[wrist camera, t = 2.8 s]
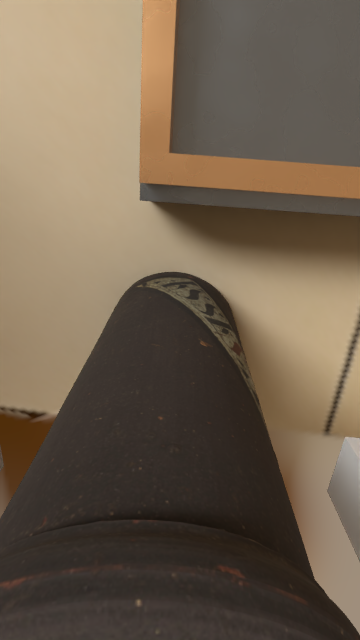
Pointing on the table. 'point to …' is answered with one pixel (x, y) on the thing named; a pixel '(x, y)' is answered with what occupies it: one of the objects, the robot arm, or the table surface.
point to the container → (160, 494)
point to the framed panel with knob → (251, 104)
